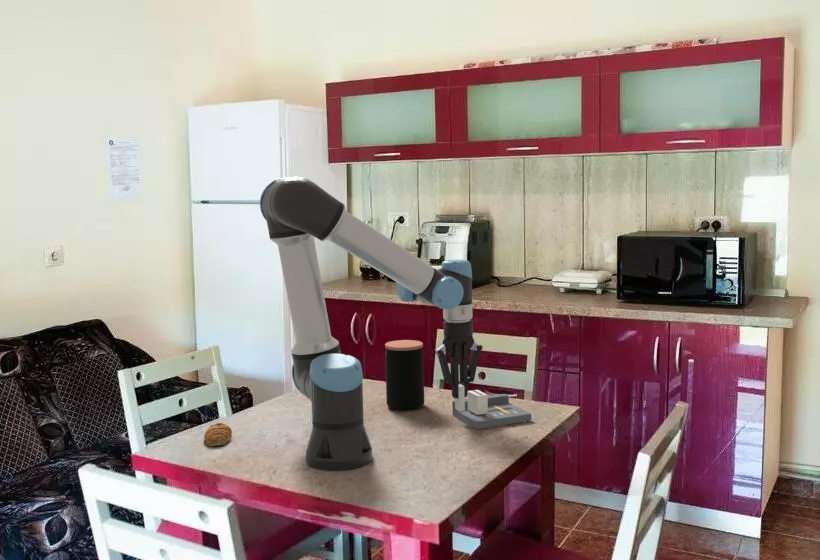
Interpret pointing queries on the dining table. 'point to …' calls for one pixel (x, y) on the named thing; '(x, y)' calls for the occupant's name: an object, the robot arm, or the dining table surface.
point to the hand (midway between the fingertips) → (459, 409)
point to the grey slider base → (493, 413)
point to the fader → (477, 402)
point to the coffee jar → (404, 375)
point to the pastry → (218, 434)
